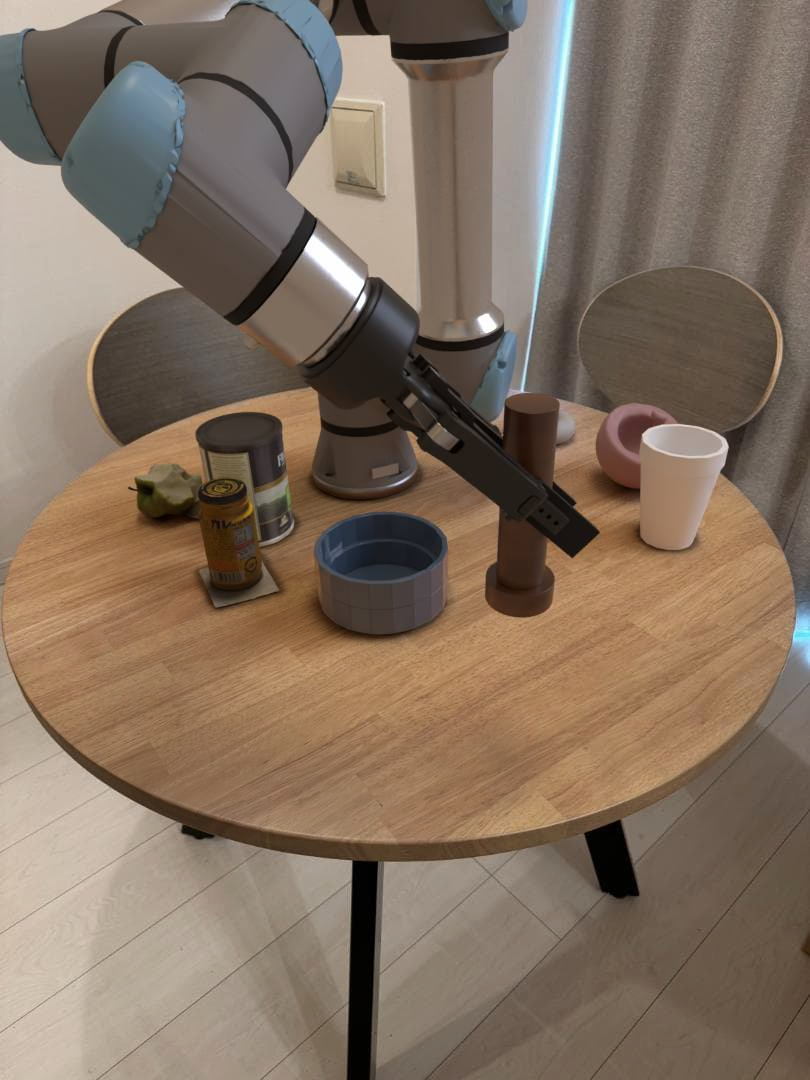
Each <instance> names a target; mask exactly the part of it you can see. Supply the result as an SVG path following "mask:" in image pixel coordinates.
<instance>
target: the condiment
mask: <svg viewBox="0 0 810 1080" xmlns="http://www.w3.org/2000/svg"><path fill="white" fill-rule="evenodd" d="M198 497H199V500H200V502H199V505H200V508H201V509H200V511H199V519H198V522H199V526H200V531H201V532H200V533H201V536H202V542H203V547H204V552H205V557H206V562H207V567H204V568H200V569H198V572H199V574H200V576H201V579H202V581H203V584H204V585H205V588H206V590H207V591H208V594H209V596H210V599H211V601H212V603H213V605H214V608H221V607H226V606H229V605H230V606H231V605H233V604H237V603H242V602H246V601H249V600H254V599H257V598H259V597H262V596H267V595H270V594H272V593H275V592H279V591H280V589H279V587H278V585H277V584H276V583H275V580H274V579H273V577H272V576H271V574H270V572H269V571H268V569H267V568H266V565H265V564H264V563H263V560H262V553H261V547H260V546H259V542H258V535H257V529H256V522H255V514H254V508H253V506H252V504H251V503H250V502H249V497H248V494H247V487H246V485H245V483H244V482H243V481H241V480H239V479H236V478H231V477H230V478H229V477H225V478H217V479H213V480H210V481H208V482H206V481H205V482H204V483H202V486H201V487H200V488H199V491H198Z"/></svg>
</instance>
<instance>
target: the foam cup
mask: <svg viewBox="0 0 810 1080" xmlns="http://www.w3.org/2000/svg"><path fill="white" fill-rule="evenodd" d="M729 448H730V447H729V443H728V441H727V438H725V437H724V436H722V435H721V434H720V433H717V432H716V431H713V430H711V429H708V428H706V427H705V428H704V427H701V426H698V425H690V424H684V423H683V424H682V423H678V424H666V425H659V426H656V427H652V428H649V429H648V430H646V431H645V432H644V433H643V434H642V438H641V444H640V451H639V454H640V460H641V485H640V489H639V490H640V491H639V492H640V495H639V498H640V499H639V534H640V538H641V539H642V541H644V543H646V544H647V545H649V546H652V547H654V548H655V549H661V550H666V551H681V550H684V549H686V548H688V547H690V546H691V545H692V544H693V543H694V539H695V538H696V536H697V533H698V530H699V527H700V525H701V523H702V519H703V518H704V515H705V512H706V509H707V508H708V504H709V501H710V499H711V496H712V494H713V491H714V489H715V487H716V483H717V481H718V478H719V475H720V474H721V471H722V469H723V468H724V467H725V465H726V460H727V456H728V451H729Z"/></svg>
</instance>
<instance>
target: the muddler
mask: <svg viewBox="0 0 810 1080" xmlns="http://www.w3.org/2000/svg"><path fill="white" fill-rule="evenodd" d="M560 406H561V403H560V401H559V400H558V399H557V398H556V397H554V396H552V395H549V394H545V393H541V392H521V393H515V394H512V395H510V396H507V399H506V400H505V403H504V407H503V424H502V425H503V426H502V429H503V430H502V437H503V444H502V449H504V450H505V451H506V452H507V453H508V454H509V455H510V456H511V457H512V458H513V459H514V460H516V461H517V462H518V463H519V464H520V465H521V466H522V467H523V468H524V469H525V470H526V471H528V472H529V473H530V474H531V475H532V476H533V477H534V478H536V479H537V478H538V479H539V478H540V479H542V480H543V481H544V482H545V483H546V484H547V485H548V486H550V487H551V488H552V485H553V481H554V475H555V474H554V472H555V462H556V450H557V444H556V441H557V430H558V419H559V410H560ZM503 511H504V510H503V509H502V508H500V507H499V512H498V530H497V552H496V561H494V562H493V563H491V564H490V565H489V566H488V568H487V569H486V572H485V582H484V583H485V585H484V598H485V601H486V603H487V605H488V606H489V607H490V608H491V609H492V610H494V611H495V612H497V613H498V614H502V615H504V616H507V617H512V618H517V619H518V618H519V619H521V618H524V619H525V618H531V617H532V618H533V617H537V616H540V615H542V614H544V613H545V612H547V610H549V609H550V607H551V606H552V604H553V601H554V590H555V582H556V577H555V574H554V572H553V570H552V569H551V568H550V567H549V565H547V564H546V563H547V562H546V561H547V552H548V551H547V550H548V541H549V539H548V538H547V537H545V536H544V535H543V534H542V533H541V532H539V531H538V530H537V529H536V528H534V527H533V526H532V525H531V524H530V523H528V522H527V521H526V520H525V519H524V520H523V521H522V522H521V523H520V522H518V521H515V520H514V519H513V520H512V521H511V522H508V521H507V520H506V518H505V517H504V515H503V513H502V512H503Z"/></svg>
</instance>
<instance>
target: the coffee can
mask: <svg viewBox="0 0 810 1080" xmlns="http://www.w3.org/2000/svg"><path fill="white" fill-rule="evenodd" d="M283 429H284V428H283V423H282V421H281V419H280V418H279V417H277V416H275V415H273V414H269V413H266V412H258V411H241V412H233V413H227V414H222V415H218V416H216V417H213V418H210V419H208V420H206V421H205V422H203V423H201V424H200V425H199V426H198V427H197V428H196V429H195V432H194V435H195V436H194V437H195V440H196V442H197V443H198V449H199V455H200V459H201V465H202V469H203V470H202V471H203V474H204V481H205V483H206V482H208V481H210V480H213V479H217V478H225V477H229V478H230V477H231V478H236V479H239V480H241V481H243V482H244V483H245V485H246V487H247V494H248V497H249V502H250V503H251V504H252V506H253V508H254V514H255V522H256V529H257V535H258V542H259V546H260V548H262V547H267V546H271V545H273V544H276V543H278V542H280V541H281V540H283V539H285V538H286V537H287V536H289V535H290V534H291V532H292V531H293V529H294V527H295V520H294V515H293V509H292V507H293V506H292V500H291V492H290V486H289V484H290V483H289V477H288V469H287V468H288V467H287V461H286V452H285V445H284V437H283V431H284V430H283Z"/></svg>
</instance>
